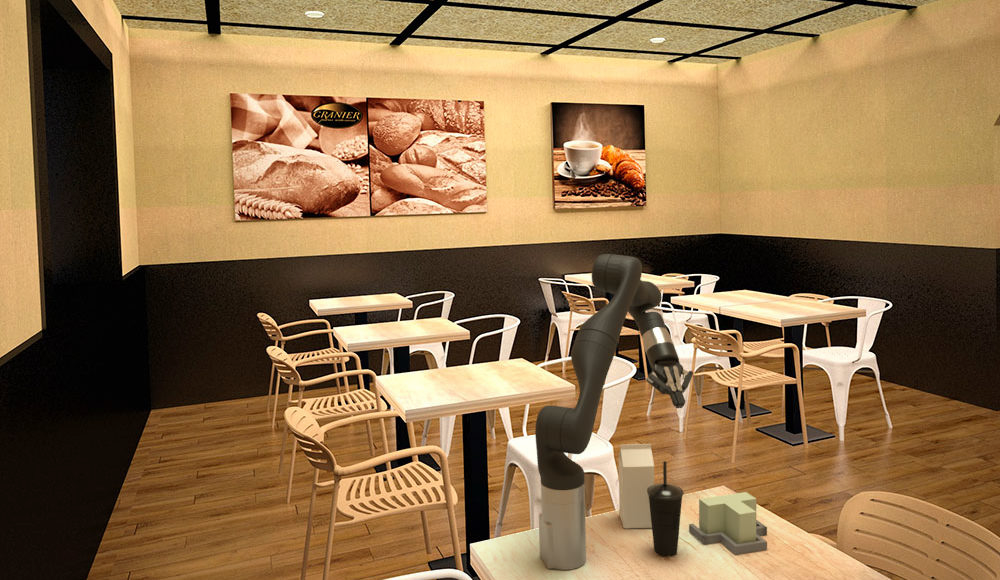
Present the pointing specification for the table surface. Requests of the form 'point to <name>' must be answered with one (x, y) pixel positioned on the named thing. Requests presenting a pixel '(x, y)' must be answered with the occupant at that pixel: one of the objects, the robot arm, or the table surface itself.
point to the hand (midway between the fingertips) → (680, 406)
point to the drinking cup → (665, 515)
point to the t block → (729, 516)
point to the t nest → (730, 544)
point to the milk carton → (635, 485)
